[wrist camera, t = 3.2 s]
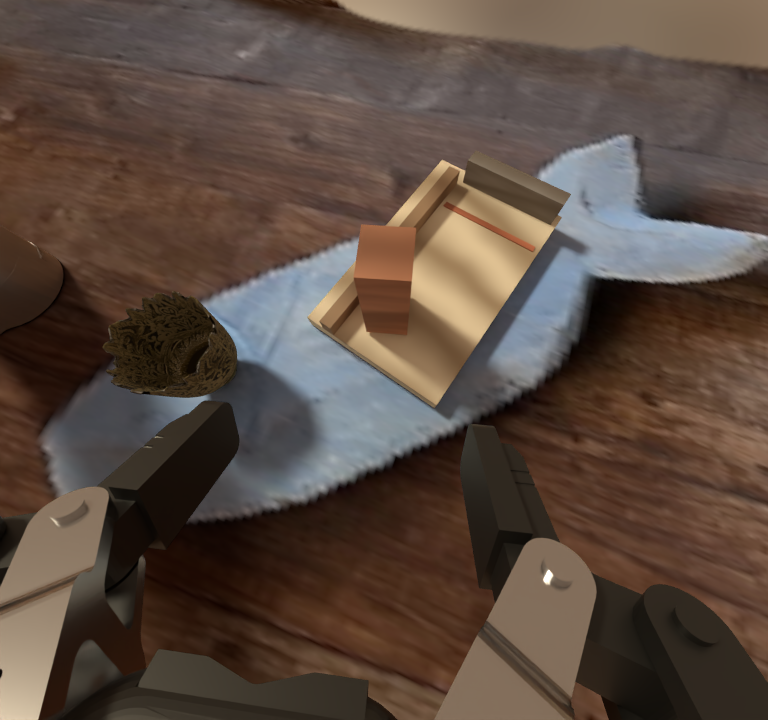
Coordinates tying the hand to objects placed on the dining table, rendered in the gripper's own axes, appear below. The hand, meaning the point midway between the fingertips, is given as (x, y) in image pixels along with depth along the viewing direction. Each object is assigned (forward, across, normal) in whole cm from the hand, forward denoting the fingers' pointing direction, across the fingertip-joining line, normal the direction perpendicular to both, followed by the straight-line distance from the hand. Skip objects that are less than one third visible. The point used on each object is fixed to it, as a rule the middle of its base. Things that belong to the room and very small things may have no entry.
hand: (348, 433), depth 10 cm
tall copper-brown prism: (+18, 0, -2) cm, 18 cm away
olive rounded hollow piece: (+15, -15, -8) cm, 23 cm away
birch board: (+23, +4, +1) cm, 24 cm away
